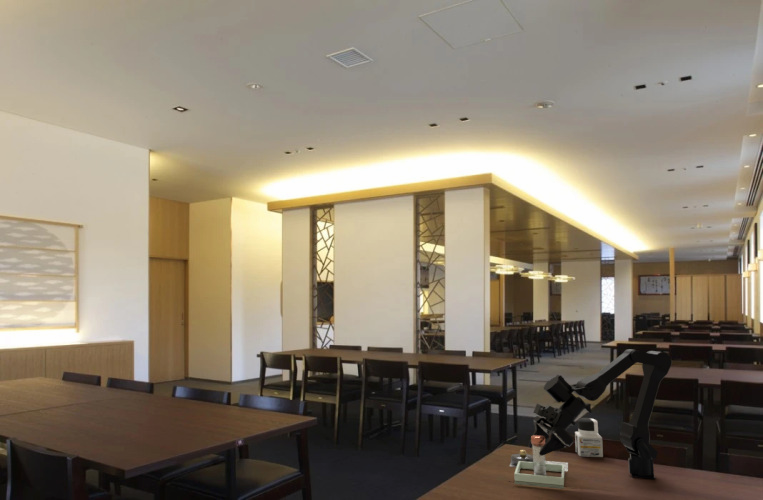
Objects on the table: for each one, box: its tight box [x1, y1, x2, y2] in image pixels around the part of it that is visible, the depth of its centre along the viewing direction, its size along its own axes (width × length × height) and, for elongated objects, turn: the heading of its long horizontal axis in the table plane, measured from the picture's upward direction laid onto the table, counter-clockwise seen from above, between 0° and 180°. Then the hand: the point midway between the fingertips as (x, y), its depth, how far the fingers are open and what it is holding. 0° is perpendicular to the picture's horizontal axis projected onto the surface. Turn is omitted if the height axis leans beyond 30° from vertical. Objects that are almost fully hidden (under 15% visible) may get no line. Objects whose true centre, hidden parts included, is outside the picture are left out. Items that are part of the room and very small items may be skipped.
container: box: [574, 417, 604, 458], centre depth 191 cm, size 8×8×13 cm
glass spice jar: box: [530, 434, 547, 476], centre depth 166 cm, size 4×4×12 cm
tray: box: [513, 461, 565, 490], centre depth 165 cm, size 14×14×3 cm
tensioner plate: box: [509, 449, 569, 472], centre depth 178 cm, size 18×10×5 cm, turn 71°
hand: (534, 450), depth 166 cm, fingers open, 9 cm apart
